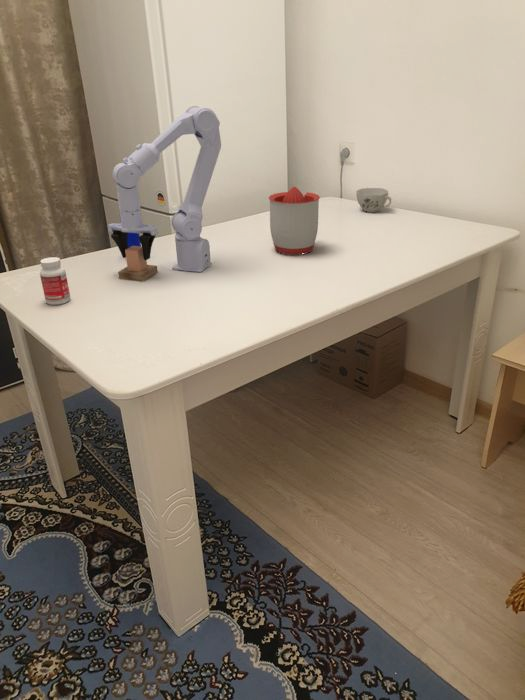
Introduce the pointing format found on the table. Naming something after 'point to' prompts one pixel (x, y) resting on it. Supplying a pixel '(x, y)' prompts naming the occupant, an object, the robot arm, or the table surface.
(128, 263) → the block
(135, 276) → the plinth
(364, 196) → the teacup
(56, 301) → the pill bottle
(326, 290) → the table surface
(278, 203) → the citrus juicer
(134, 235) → the beverage can
